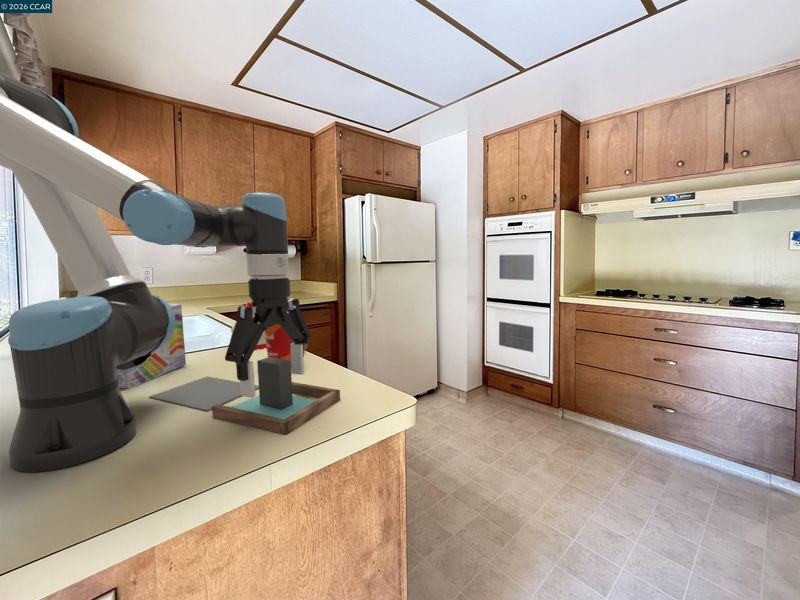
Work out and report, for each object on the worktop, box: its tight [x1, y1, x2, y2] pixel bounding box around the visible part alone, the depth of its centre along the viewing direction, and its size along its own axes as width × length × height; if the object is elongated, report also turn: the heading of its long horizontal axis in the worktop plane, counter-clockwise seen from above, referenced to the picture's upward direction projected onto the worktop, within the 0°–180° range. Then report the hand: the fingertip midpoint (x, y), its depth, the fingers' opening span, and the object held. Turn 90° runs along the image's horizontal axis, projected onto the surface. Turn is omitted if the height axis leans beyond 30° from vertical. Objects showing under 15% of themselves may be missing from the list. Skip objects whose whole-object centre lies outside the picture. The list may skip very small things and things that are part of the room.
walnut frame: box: [211, 381, 341, 435], centre depth 72 cm, size 16×18×2 cm
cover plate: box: [231, 356, 315, 419], centre depth 72 cm, size 10×14×10 cm
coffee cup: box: [265, 324, 293, 368], centre depth 96 cm, size 8×8×15 cm
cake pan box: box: [117, 302, 187, 390], centre depth 91 cm, size 19×5×18 cm, turn 170°
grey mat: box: [149, 376, 259, 412], centre depth 80 cm, size 14×18×1 cm
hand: (275, 384), depth 72 cm, fingers open, 13 cm apart
